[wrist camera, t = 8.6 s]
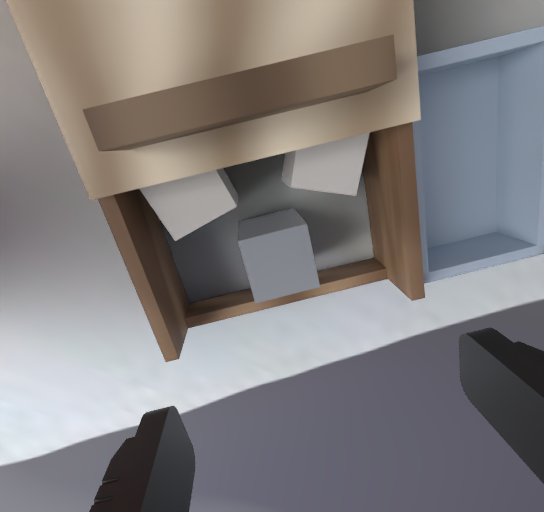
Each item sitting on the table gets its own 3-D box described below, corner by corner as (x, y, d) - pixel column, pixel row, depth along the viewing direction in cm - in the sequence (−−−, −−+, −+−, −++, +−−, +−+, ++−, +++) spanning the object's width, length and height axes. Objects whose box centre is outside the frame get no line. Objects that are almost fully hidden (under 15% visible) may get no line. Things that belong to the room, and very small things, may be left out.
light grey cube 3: (281, 179, 22) (290, 187, 18) (289, 119, 21) (301, 113, 17) (334, 186, 22) (356, 195, 18) (345, 128, 21) (371, 124, 17)
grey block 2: (252, 272, 24) (255, 303, 19) (238, 221, 23) (237, 241, 18) (304, 259, 24) (320, 286, 19) (293, 207, 23) (307, 223, 18)
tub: (391, 263, 25) (419, 284, 21) (371, 76, 20) (401, 59, 16) (500, 236, 25) (546, 253, 21) (503, 44, 20) (563, 21, 16)
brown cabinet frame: (182, 315, 24) (165, 362, 19) (116, 137, 20) (71, 135, 15) (385, 265, 25) (424, 297, 19) (364, 78, 20) (407, 53, 15)
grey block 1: (188, 222, 22) (175, 241, 18) (154, 170, 21) (131, 176, 17) (238, 194, 22) (237, 206, 18) (206, 139, 21) (197, 138, 16)
